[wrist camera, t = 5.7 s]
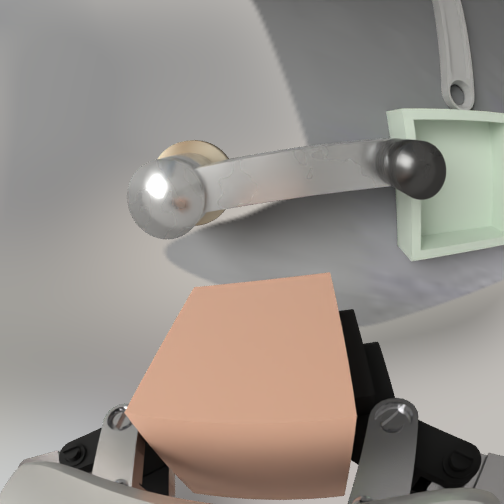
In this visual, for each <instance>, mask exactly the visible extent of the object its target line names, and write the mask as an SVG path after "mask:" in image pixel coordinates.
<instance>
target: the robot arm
mask: <svg viewBox="0 0 504 504" xmlns="http://www.w3.org/2000/svg"><path fill="white" fill-rule="evenodd" d="M339 316H340V321H341V326H342V331H343V336H344V341H345V346H346V352H347V357H348V363H349V369H350V375H351V381H352V387H353V393H354V400H355V407H356V414H357V419H356V427H355V435H354V442H353V449H352V456H351V460H352V461H353V462H355V463H357V464H358V465H359V466H358V470H357V473H356V477H355V480H354V484H353V487H352V491H351V494H350V497H349V501H348V504H504V456H500V455H496V454H491V453H488V455H484V454H480V452H479V450H478V449H477V447H476V446H475V445H473V444H471V443H469V442H467V441H464V440H462V439H460V438H457V437H455V436H453V435H450V434H448V433H446V432H443V431H441V430H439V429H437V428H435V427H432V426H430V425H428V424H426V423H424V422H422V421H419V420H418V412H417V410H416V408H415V406H414V405H413V404H412V403H410V402H409V401H407V400H404V399H400V398H395V396H394V393H393V389H392V385H391V382H390V379H389V375H388V371H387V368H386V365H385V362H384V358H383V355H382V351H381V348H380V345H379V343H378V342H373V343H366V344H363V342H362V338H361V335H360V331H359V327H358V323H357V320H356V316H355V313H354V310H353V309H351V310H344V311H339ZM128 405H129V404H120V405H117V406H115V407H113V408H112V409H111V410H109V411H108V413H107V414H106V416H105V418H104V421H103V425H102V428H100V429H98V430H96V431H93V432H91V433H89V434H87V435H85V436H82V437H80V438H78V439H76V440H73V441H71V442H69V443H67V444H66V445H65V446H64V447H63V448H62V450H61V451H60V452H59V451H54V452H50V453H47V454H43V455H40V456H36V457H32V458H28V459H25V460H23V461H22V462H21V463H20V465H19V467H18V469H17V470H16V471H15V472H14V473H13V475H12V476H11V477H10V479H9V480H8V482H7V483H6V485H5V486H4V488H3V490H2V491H1V493H0V504H210V503H204V502H197V501H191V500H185V499H180V498H175V473H174V472H173V471H172V470H171V469H170V468H169V467H168V466H167V465H166V464H165V462H164V461H163V460H162V459H161V458H160V457H159V456H158V454H157V453H156V452H155V451H154V450H153V449H152V447H151V446H150V445H149V444H148V443H147V441H146V440H145V439H144V438H143V436H142V435H141V434H140V433H139V431H138V430H137V429H136V427H135V426H134V425H133V424H132V422H131V421H130V420H129V418H128V417H127V415H126V414H125V413H124V412H125V411H126V409H127V407H128Z"/></svg>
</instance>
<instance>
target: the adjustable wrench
mask: <svg viewBox="0 0 504 504" xmlns="http://www.w3.org/2000/svg"><path fill="white" fill-rule="evenodd" d="M432 3H433V8H434V14H435V21H436V28H437V36H438V45H439V55H440V69H441V92H442V97H443V99H444V102H445V103H446V104H447V106H448V107H449V108H451V109H457V110H470V109H471V108H472V107H473V104H474V82H473V70H472V61H471V53H470V46H469V39H468V33H467V28H466V23H465V18H464V13H463V9H462V4H461V0H432ZM453 84H456V85H458V86H459V87H460V88H461V89H462V91H463V93H464V102H463V104H462V105H456V104H455V103H454V101H453V100H452V97H451V94H450V86H451V85H453Z"/></svg>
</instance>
